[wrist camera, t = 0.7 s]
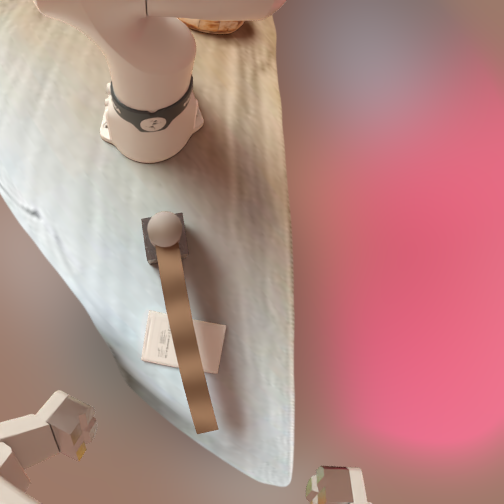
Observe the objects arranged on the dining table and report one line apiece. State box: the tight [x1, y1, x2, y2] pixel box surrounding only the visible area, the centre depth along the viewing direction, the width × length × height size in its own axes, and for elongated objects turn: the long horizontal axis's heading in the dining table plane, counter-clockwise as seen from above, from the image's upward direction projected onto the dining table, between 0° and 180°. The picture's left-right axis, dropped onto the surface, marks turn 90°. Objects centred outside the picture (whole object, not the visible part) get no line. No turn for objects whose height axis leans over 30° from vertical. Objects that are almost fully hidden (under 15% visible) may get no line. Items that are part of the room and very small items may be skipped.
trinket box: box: [178, 18, 244, 34], centre depth 53 cm, size 13×15×8 cm
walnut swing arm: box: [147, 211, 218, 434], centre depth 39 cm, size 30×4×5 cm, turn 12°
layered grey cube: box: [141, 213, 189, 264], centre depth 46 cm, size 6×6×6 cm
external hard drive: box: [141, 310, 226, 374], centre depth 47 cm, size 2×8×12 cm
